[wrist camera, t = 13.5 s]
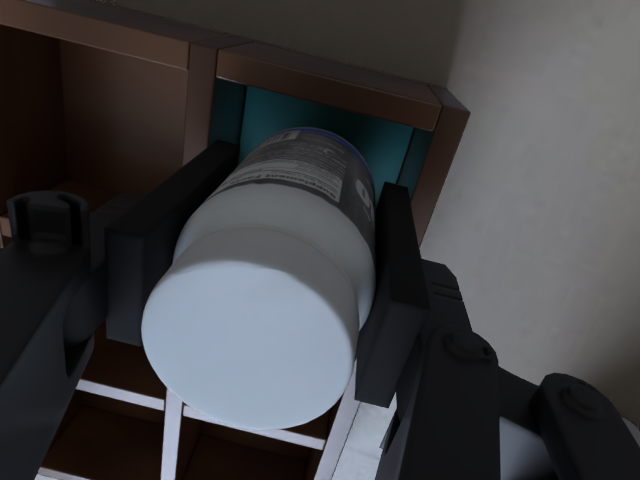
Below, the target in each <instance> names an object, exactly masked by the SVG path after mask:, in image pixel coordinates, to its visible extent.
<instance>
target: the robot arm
mask: <svg viewBox="0 0 640 480" xmlns="http://www.w3.org/2000/svg"><path fill="white" fill-rule="evenodd" d="M239 152H240V145H237V144H233V143H229V142H225V141H221V140H216V141H215V142H214V143H212V144H211V145H210V146H209V147H207V148H206V149H205V150H203V151H202V152H201V153H200V154H198V155H197V156H196V157H194V158H193V159H192V160H191V161H189V162H188V163H187V164H186V165H184V166H183V167H182V168H180V169H179V170H178V171H177V172H175V173H174V174H173V175H171V176H170V177H169V178H168V179H166V180H165V181H164V182H162V183H161V184H160V185H159V186H157V187H156V188H155V189H153V190H152V191H151V192H146V191H142V190H138V189H134V190H131V191H127V192H124V193H120V194H118V195H116V196H115V197H113V198H112V199H110V200H109V201H107V202H106V204H103V205H102V206H100V207H99V208H97V209H96V211H93V212H91V213H90V214H89V204H88V203H87V202H86V200H85V199H84V198H82V197H80V196H78V195H76V194H72V193H67V192H63V191H49V190H44V191H32V192H27V193H23V194H19V195H16V196H14V197H12V198H10V199H9V200H7V209H8V216H9V223H10V230H11V237H12V241H11V242H10V243H9V244H8V245H7V246H6V247H5V248H0V480H34V479H35V477H36V475H37V473H38V470H39V468H40V466H41V464H42V462H43V459H44V457H45V455H46V453H47V451H48V448H49V446H50V444H51V442H52V440H53V437H54V435H55V433H56V431H57V429H58V426H59V424H60V422H61V420H62V418H63V416H64V413H65V411H66V409H67V407H68V405H69V402H70V400H71V398H72V396H73V394H74V391H75V389H76V387H77V385H78V383H79V380H80V378H81V376H82V374H83V372H84V369H85V367H86V365H87V363H88V361H89V358H90V356H91V354H92V352H93V348H94V331H95V330H96V329H97V328H98V326H99V325H100V324H101V323H102V322H103V321H104V320H105V319H106V338H108V339H112V340H116V341H120V342H124V343H128V344H132V345H136V346H140V347H141V345H142V344H143V341H142V333H141V324H142V316H143V311H144V308H145V305H146V302H147V300H148V298H149V296H150V294H151V292H152V290H153V289H154V287H155V286H156V284H157V283H158V282H159V280H160V279H161V278H162V277H163V276H164V275H165V273H166V272H167V271H168V270H169V268H170V267H171V266H172V264H173V255H174V250H175V246H176V243H177V240H178V237H179V235H180V233H181V231H182V229H183V227H184V225H185V224H186V222H187V221H188V219H189V218H190V216H191V215H192V214H193V213H194V212H195V211H196V210H197V209H198V208H199V207H200V206H201V205H202V204H203V202H204V201H205V200H206V199H207V198H208V197H209V196H210V195H211V194H212V193H213V192H214V191H215V190H216V189H217V188H218V187H219V186H220V185H221V184H222V183H223V182H224V181H225V180H226V178H228V176H229V175H230V174H231V173H232V172H233V171H234V170H235V169H236V168H237V167H238V160H239ZM375 213H376V229H375V235H376V245H375V254H376V290H375V296H374V300H373V303H372V307H371V310H370V313H369V315H368V318H367V320H366V322H365V323H364V325H363V326H362V328H361V329H360V331H359V336H358V342H357V361H356V379H355V397H354V400H357V401H361V402H365V403H369V404H373V405H377V406H381V407H385V408H389V406H390V404H391V401H392V399H393V397H394V394H395V392H396V399H397V409H396V411H395V413H394V416H393V418H392V420H391V422H390V425H389V427H388V429H387V431H386V434H385V436H384V438H383V440H382V443H381V445H380V447H379V448H382V449H383V451H382V455H381V459H380V462H379V466H378V470H377V473H376V477H375V480H640V447H639V445H638V443H637V442H636V440H635V438H634V437H633V435H632V434H631V432H630V430H629V429H628V427H627V425H626V424H625V422H624V421H623V419H622V417H621V416H620V414H619V412H618V411H617V410H616V408H615V407H614V406H613V405H612V403H611V402H610V401H609V400H608V399H607V398H606V397H605V396H604V395H603V394H601V393H600V392H599V391H598V390H597V389H596V388H595V387H593V386H592V385H590V384H587V382H585V381H583V380H581V379H578V378H575V377H573V376H570V375H567V374H560V373H552V374H549V375H546V376H545V377H544V379H543V381H542V382H541V384H540V385H539V386H537V385H535V384H532V383H530V382H528V381H526V380H524V379H522V378H520V377H518V376H516V375H513V374H511V373H510V372H508V371H506V370H504V369H502V368H501V367H499V366H498V359H497V355H496V352H495V351H494V349H493V348H492V347H491V346H490V344H489V343H488V342H487V341H486V340H484V339H483V338H482V337H481V336H479V335H478V334H476V333H474V332H473V331H472V328H471V324H470V321H469V318H468V315H467V312H466V308H465V305H464V302H463V301H462V300H463V299H462V295H461V292H460V291H459V286H458V282H457V279H456V277H455V276H454V274H453V273H452V272H451V271H450V270H449V269H448V268H447V266H446V265H444V264H440V263H436V262H432V261H428V260H424V259H421V256H420V250H419V245H418V240H417V234H416V229H415V224H414V219H413V213H412V208H411V203H410V197H409V192H408V187H405V186H401V185H397V184H393V183H389V182H384V185H383V188H382V191H381V195H380V198H379V201H378V204H377V208H376V211H375Z"/></svg>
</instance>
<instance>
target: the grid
mask: <svg viewBox="0 0 640 480" xmlns="http://www.w3.org/2000/svg"><path fill="white" fill-rule="evenodd" d="M469 116H470V111H469V110H468V109H467V108H466V107H465V106H464V105H463V104H462V103H461V102H460V101H459V100H458V99H457V98H456V97H455V96H454V95H453V94H452V93H451V92H450V91H449V90H448V89H447V88H444V87H440V86H436V85H432V84H428V83H424V82H420V81H416V80H412V79H408V78H404V77H400V76H396V75H392V74H388V73H384V72H380V71H376V70H372V69H368V68H364V67H360V66H356V65H352V64H348V63H344V62H340V61H336V60H332V59H328V58H324V57H320V56H316V55H312V54H308V53H304V52H300V51H296V50H292V49H288V48H284V47H280V46H276V45H272V44H268V43H264V42H260V41H256V40H252V39H248V38H244V37H240V36H236V35H232V34H228V33H224V32H220V31H216V30H212V29H208V28H204V27H200V26H196V25H192V24H188V23H184V22H180V21H176V20H172V19H168V18H164V17H160V16H156V15H152V14H148V13H144V12H140V11H136V10H132V9H128V8H124V7H120V6H116V5H112V4H108V3H104V2H100V1H96V0H0V248H5V247H6V246H7V245H8V244H9V243H10V242H11V241H12V237H11V230H10V223H9V216H8V209H7V200H9V199H10V198H12V197H14V196H16V195H19V194H23V193H27V192H32V191H44V190H49V191H63V192H67V193H72V194H76V195H78V196H80V197H82V198H84V199H85V200H86V202H87V203H88V204H89V214H90V213H91V212H93V211H96V209H97V208H99V207H100V206H102V205H103V204H106V202H107V201H109V200H110V199H112V198H113V197H115V196H116V195H118V194H120V193H124V192H127V191H131V190H134V189H138V190H142V191H146V192H151V191H152V190H153V189H155V188H156V187H157V186H159V185H160V184H161V183H162V182H164V181H165V180H166V179H168V178H169V177H170V176H171V175H173V174H174V173H175V172H177V171H178V170H179V169H180V168H182V167H183V166H184V165H186V164H187V163H188V162H189V161H191V160H192V159H193V158H194V157H196V156H197V155H198V154H200V153H201V152H202V151H203V150H205V149H206V148H207V147H209V146H210V145H211V144H212V143H214V142H215V141H216V140H221V141H225V142H229V143H233V144H237V145H240V152H239V160H238V166H239V165H240V164H241V163H242V161H243V160H244V159H245V158H246V157H247V156H248V155H249V154H250V153H251V152H252V151H253V150H254V149H255V148H256V147H257V146H258V145H259V144H260V143H261V142H262V141H264V140H265V139H266V138H268V137H269V136H271V135H273V134H275V133H277V132H280V131H282V130H285V129H289V128H294V127H314V128H319V129H324V130H327V131H330V132H332V133H335V134H337V135H339V136H341V137H343V138H344V139H345V140H347V141H348V142H349V143H351V144H352V145H353V146H354V147H355V148H356V149H357V150H358V152H359V153H360V154H361V155H362V157H363V158H364V159H365V161H366V163H367V165H368V167H369V168H370V171H371V174H372V177H373V181H374V188H375V211H376V208H377V204H378V201H379V198H380V195H381V191H382V188H383V185H384V182H389V183H393V184H397V185H401V186H405V187H408V192H409V197H410V203H411V208H412V213H413V219H414V224H415V229H416V234H417V240H418V245H419V248H420V245H421V242H422V240H423V237H424V234H425V232H426V229H427V227H428V224H429V221H430V219H431V216H432V213H433V211H434V208H435V205H436V203H437V200H438V198H439V195H440V192H441V190H442V187H443V184H444V182H445V179H446V177H447V174H448V171H449V169H450V166H451V163H452V161H453V158H454V155H455V153H456V150H457V148H458V145H459V142H460V140H461V137H462V134H463V132H464V129H465V127H466V124H467V121H468V119H469ZM357 342H358V341H357ZM356 361H357V347H356V354H355V362H354V369H353V373H352V376H351V379H350V381H349V384H348V386H347V388H346V390H345V391H344V393H343V395H342V396H341V397H340V398H339V399H338V401H337V402H336V403H335V404H334V405H333V406H332V407H331V408H330V409H329V410H327V411H326V412H325V413H324V414H322V415H320V416H319V417H317V418H315V419H313V420H311V421H309V422H307V423H304V424H301V425H297V426H293V427H289V428H283V429H273V430H264V429H262V430H257V429H248V428H242V427H237V426H233V425H230V424H226V423H223V422H220V421H218V420H215V419H213V418H211V417H209V416H206V415H204V414H202V413H201V412H199V411H197V410H195V409H193V408H191V407H190V406H188V405H187V404H185V403H184V402H183V401H182V400H180V399H179V398H178V397H177V396H176V395H174V394H173V393H172V392H171V391H170V390H169V389H168V388H167V387H166V386H165V385H164V383H163V382H162V381H161V380H160V378H159V377H158V375H157V374H156V372H155V370H154V369H153V368H152V366H151V364H150V362H149V360H148V358H147V355H146V352H145V349H144V345H143V344H142V345H141V347H140V346H136V345H132V344H128V343H124V342H120V341H116V340H112V339H108V338H106V319H105V320H104V321H103V322H102V323H101V324H100V325H99V326H98V328H97V329H96V330H95V331H94V348H93V352H92V354H91V356H90V358H89V361H88V363H87V365H86V367H85V369H84V372H83V374H82V376H81V378H80V380H79V383H78V385H77V387H76V389H75V391H74V394H73V396H72V398H71V400H70V402H69V405H68V407H67V409H66V411H65V413H64V416H63V418H62V420H61V422H60V424H59V426H58V429H57V431H56V433H55V435H54V437H53V440H52V442H51V444H50V446H49V448H48V451H47V453H46V455H45V457H44V459H43V462H42V464H41V466H40V468H39V470H38V473H37V474H39V475H42V476H46V477H50V478H54V479H58V480H331V479H332V477H333V474H334V471H335V469H336V466H337V463H338V461H339V458H340V455H341V453H342V450H343V448H344V445H345V442H346V440H347V437H348V434H349V432H350V429H351V427H352V424H353V421H354V419H355V416H356V413H357V411H358V408H359V405H360V403H361V401H357V400H354V397H355V379H356Z"/></svg>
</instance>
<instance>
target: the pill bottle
mask: <svg viewBox="0 0 640 480" xmlns="http://www.w3.org/2000/svg"><path fill="white" fill-rule="evenodd" d="M375 229H376V213H375V188H374V181H373V177H372V174H371V171H370V168H369V167H368V165H367V163H366V161H365V159H364V158H363V157H362V155H361V154H360V153H359V152H358V150H357V149H356V148H355V147H354V146H353V145H352V144H351V143H349V142H348V141H347V140H345V139H344V138H343V137H341V136H339V135H337V134H335V133H332V132H330V131H327V130H324V129H319V128H314V127H294V128H289V129H285V130H282V131H280V132H277V133H275V134H273V135H271V136H269V137H268V138H266V139H265V140H264V141H262V142H261V143H260V144H259V145H258V146H257V147H256V148H255V149H254V150H253V151H252V152H251V153H250V154H249V155H248V156H247V157H246V158H245V159H244V160H243V161H242V163H241V164H240V165H239V166H238V167H237V168H236V169H235V170H234V171H233V172H232V173H231V174H230V175H229V176H228V178H226V180H225V181H224V182H223V183H222V184H221V185H220V186H219V187H218V188H217V189H216V190H215V191H214V192H213V193H212V194H211V195H210V196H209V197H208V198H207V199H206V200H205V201H204V202H203V204H202V205H201V206H200V207H199V208H198V209H197V210H196V211H195V212H194V213H193V214H192V215H191V216H190V218H189V219H188V221H187V222H186V224H185V225H184V227H183V229H182V231H181V233H180V235H179V237H178V240H177V243H176V246H175V250H174V255H173V264H172V266H171V267H170V268H169V270H168V271H167V272H166V273H165V275H164V276H163V277H162V278H161V279H160V280H159V282H158V283H157V284H156V286H155V287H154V289H153V290H152V292H151V294H150V296H149V298H148V300H147V302H146V305H145V308H144V311H143V316H142V324H141V333H142V341H143V345H144V349H145V352H146V355H147V358H148V360H149V362H150V364H151V366H152V368H153V369H154V370H155V372H156V374H157V375H158V377H159V378H160V380H161V381H162V382H163V383H164V385H165V386H166V387H167V388H168V389H169V390H170V391H171V392H172V393H173V394H174V395H176V396H177V397H178V398H179V399H180V400H182V401H183V402H184V403H185V404H187V405H188V406H190V407H191V408H193V409H195V410H197V411H199V412H201V413H202V414H204V415H206V416H209V417H211V418H213V419H215V420H218V421H220V422H223V423H226V424H230V425H233V426H237V427H242V428H248V429H257V430H262V429H264V430H273V429H283V428H289V427H293V426H297V425H301V424H304V423H307V422H309V421H311V420H313V419H315V418H317V417H319V416H320V415H322V414H324V413H325V412H326V411H327V410H329V409H330V408H331V407H332V406H333V405H334V404H335V403H336V402H337V401H338V399H339V398H340V397H341V396H342V395H343V393H344V391H345V390H346V388H347V386H348V384H349V381H350V379H351V376H352V373H353V369H354V362H355V354H356V347H357V341H358V336H359V331H360V329H361V328H362V326H363V325H364V323H365V322H366V320H367V318H368V315H369V313H370V310H371V307H372V303H373V300H374V296H375V290H376V254H375V245H376V235H375Z"/></svg>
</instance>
